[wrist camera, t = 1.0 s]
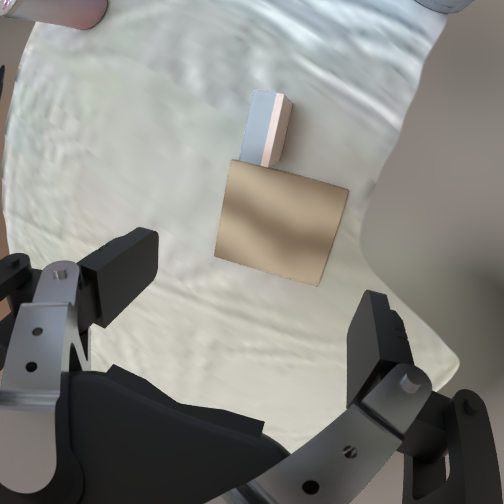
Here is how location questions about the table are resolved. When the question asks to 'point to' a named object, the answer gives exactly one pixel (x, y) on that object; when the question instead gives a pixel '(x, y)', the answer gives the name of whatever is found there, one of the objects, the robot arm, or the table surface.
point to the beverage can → (56, 11)
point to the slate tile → (265, 128)
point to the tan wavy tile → (278, 221)
